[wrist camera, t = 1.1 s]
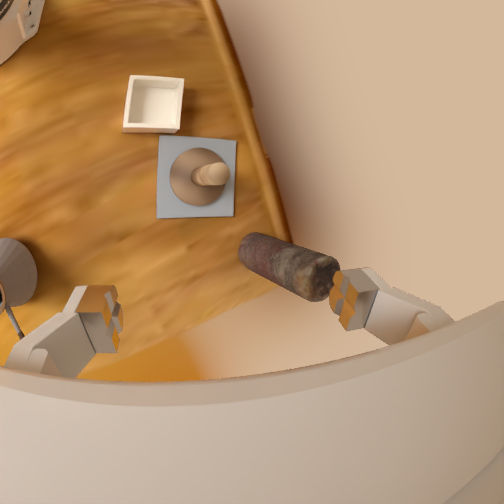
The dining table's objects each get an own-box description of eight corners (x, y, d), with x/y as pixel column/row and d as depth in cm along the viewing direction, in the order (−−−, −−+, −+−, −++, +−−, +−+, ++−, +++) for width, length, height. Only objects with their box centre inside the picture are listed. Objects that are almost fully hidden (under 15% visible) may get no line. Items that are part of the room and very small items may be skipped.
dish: (128, 83, 35) (130, 75, 32) (178, 86, 40) (184, 78, 36) (121, 132, 37) (122, 127, 34) (173, 133, 42) (179, 128, 38)
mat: (159, 135, 40) (160, 135, 40) (234, 141, 47) (236, 140, 47) (156, 218, 44) (157, 218, 43) (231, 215, 50) (233, 216, 50)
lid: (170, 147, 41) (186, 135, 33) (225, 150, 46) (252, 142, 38) (168, 206, 44) (183, 210, 35) (223, 205, 48) (250, 209, 40)
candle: (276, 248, 57) (348, 274, 40) (254, 276, 56) (321, 314, 39) (253, 224, 53) (325, 243, 36) (229, 254, 52) (293, 288, 35)
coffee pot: (-20, 257, 28) (-59, 284, 15) (20, 221, 31) (-16, 236, 19) (44, 351, 37) (32, 403, 24) (84, 323, 40) (80, 372, 28)
